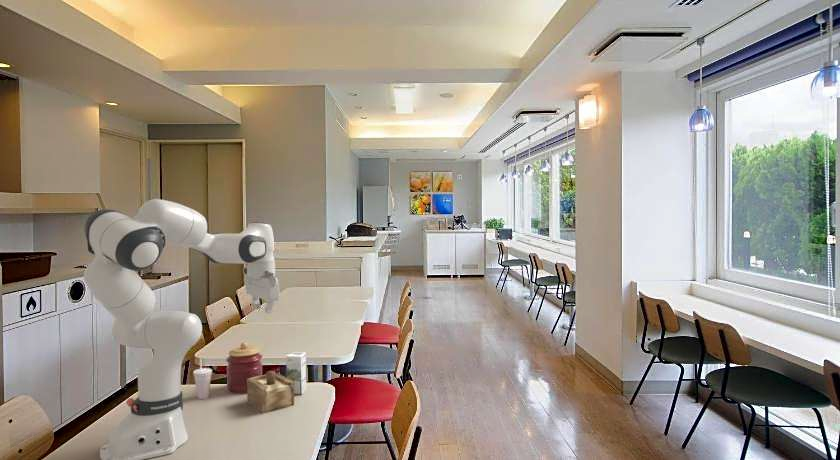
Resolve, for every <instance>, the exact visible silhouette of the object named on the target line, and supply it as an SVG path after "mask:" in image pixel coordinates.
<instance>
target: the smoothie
mask: <svg viewBox="0 0 840 460" xmlns="http://www.w3.org/2000/svg"><path fill="white" fill-rule="evenodd" d="M202 364H203V363H202V358H200V359H199V368H198V369H197V368H196V369H195V370H193V373H192V375H193V376H194V381H195V382H194V383H195V387H196V388H195V389H196V394H197V399H200V400H205V399H207V398H209V397H210V390H211V389H210V388H211V380H212V374H213V369H212V368H210V367H209V368H207V367H204V368H203V367H202V366H203V365H202Z"/></svg>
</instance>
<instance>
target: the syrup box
mask: <svg viewBox="0 0 840 460" xmlns="http://www.w3.org/2000/svg"><path fill="white" fill-rule="evenodd" d="M306 356H307V354H306V352H305V351H303V352H302V351H301V352H299V351H291V352H289V353H288V354H287V355H286V357H285V359H286V361H285V362H286V363H285V364H286V378H288V379H290V380H291V381H293V382H294V396H295V395H298V396H299V395H300V396H301V395H303V394H304V393H305V392H306V391H307V357H306Z"/></svg>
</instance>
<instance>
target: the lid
mask: <svg viewBox="0 0 840 460" xmlns="http://www.w3.org/2000/svg"><path fill="white" fill-rule="evenodd" d="M265 375H266V377H267V378H266V379H261V380H257V381H259V382H260V383H262V384H264V385H265V386H267V387H268V389H266V394H267V395H268V394H272V393H276V392H280V391H284V390H288V389H290V385H288V384H286V383H284V382H283V381H281V380H279V379H277V378H276V377H275V371H274V370H268V371H266V373H265Z"/></svg>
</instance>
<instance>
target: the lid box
mask: <svg viewBox="0 0 840 460" xmlns="http://www.w3.org/2000/svg"><path fill="white" fill-rule="evenodd" d="M275 377H276V378H277V379H279V380H281V381H283V382H284V383H286V384H288V385H290V389H288V390H284V391H280V392H276V393H272V394H268V395H267V394H266V389H268V387H267V386H265V385H264V384H262V383H260V382H259V381H257V380H261V379H266V378H267V377H266V374H262V375H261V376H257V377H252V378H248V379H247V393H246V394H247V397H246V398H247V402H248V403H249V405H250V404H251V406H252V407H254V408H256V409H257V410H258V411H260V412H261V413H263V414H266V413H267V414H268V413H270V412H274V411H278V410H281V409H286V408H288V407H289V408H290V407H292V406H295V394H294V382H293V381H291V380H290V379H288V378H287V376H284V375H283V374H280V373H279V372H277V371H276V372H275Z"/></svg>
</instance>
